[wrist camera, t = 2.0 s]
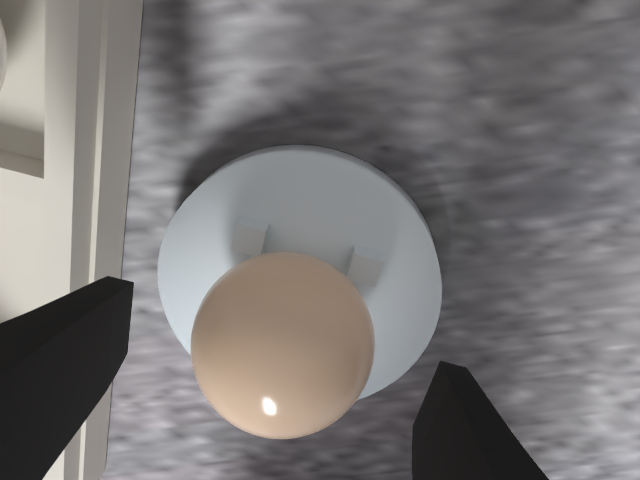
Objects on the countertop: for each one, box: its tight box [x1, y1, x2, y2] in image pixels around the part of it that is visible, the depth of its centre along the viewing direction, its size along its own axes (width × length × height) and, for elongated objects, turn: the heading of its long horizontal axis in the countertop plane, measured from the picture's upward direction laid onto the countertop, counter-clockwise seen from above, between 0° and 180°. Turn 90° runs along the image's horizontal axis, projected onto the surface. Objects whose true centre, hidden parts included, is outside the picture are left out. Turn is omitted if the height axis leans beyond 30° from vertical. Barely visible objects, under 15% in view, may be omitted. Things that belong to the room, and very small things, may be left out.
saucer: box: [157, 145, 442, 400], centre depth 15 cm, size 8×8×2 cm
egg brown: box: [191, 251, 375, 439], centre depth 13 cm, size 4×4×4 cm
